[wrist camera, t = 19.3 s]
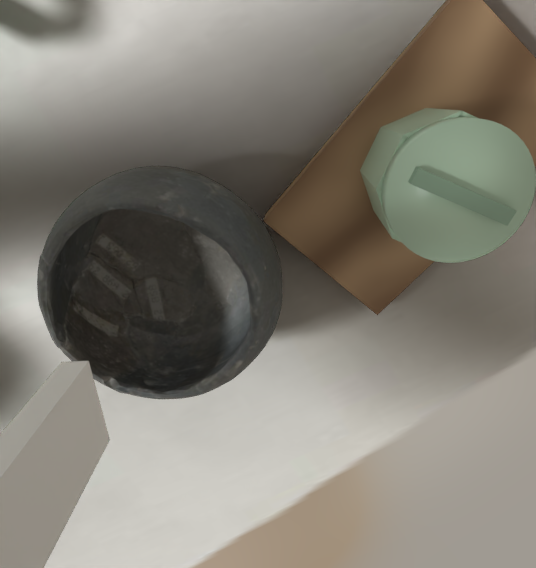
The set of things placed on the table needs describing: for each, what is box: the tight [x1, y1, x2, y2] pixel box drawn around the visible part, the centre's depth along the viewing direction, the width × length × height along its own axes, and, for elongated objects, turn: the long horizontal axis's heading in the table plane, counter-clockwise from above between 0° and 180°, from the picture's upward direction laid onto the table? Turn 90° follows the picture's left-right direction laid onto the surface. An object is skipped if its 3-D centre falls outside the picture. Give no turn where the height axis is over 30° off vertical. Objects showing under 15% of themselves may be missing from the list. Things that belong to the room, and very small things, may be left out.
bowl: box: [37, 166, 282, 399], centre depth 30 cm, size 15×15×10 cm
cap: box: [360, 108, 536, 263], centre depth 25 cm, size 7×7×9 cm
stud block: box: [263, 0, 536, 315], centre depth 27 cm, size 11×18×8 cm, turn 140°
